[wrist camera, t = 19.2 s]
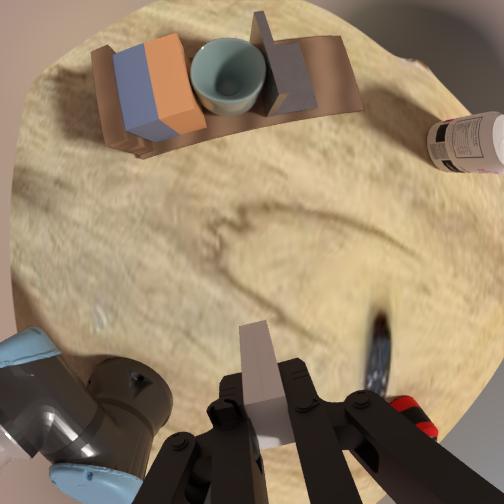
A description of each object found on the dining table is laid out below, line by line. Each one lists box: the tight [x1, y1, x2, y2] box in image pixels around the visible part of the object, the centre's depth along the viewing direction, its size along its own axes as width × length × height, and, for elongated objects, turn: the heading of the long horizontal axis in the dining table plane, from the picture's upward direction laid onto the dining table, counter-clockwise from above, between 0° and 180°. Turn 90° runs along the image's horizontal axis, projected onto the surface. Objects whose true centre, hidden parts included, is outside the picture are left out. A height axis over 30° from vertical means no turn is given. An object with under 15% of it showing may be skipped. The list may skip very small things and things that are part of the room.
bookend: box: [249, 11, 319, 117], centre depth 31 cm, size 7×10×11 cm
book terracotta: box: [144, 33, 207, 135], centre depth 31 cm, size 4×9×11 cm, turn 13°
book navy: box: [112, 43, 180, 143], centre depth 31 cm, size 4×9×11 cm, turn 14°
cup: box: [190, 38, 267, 117], centre depth 32 cm, size 8×8×10 cm
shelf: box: [91, 36, 364, 159], centre depth 31 cm, size 31×12×13 cm, turn 104°
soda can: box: [390, 396, 438, 442], centre depth 46 cm, size 8×8×12 cm
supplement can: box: [427, 112, 504, 174], centre depth 34 cm, size 8×8×15 cm
